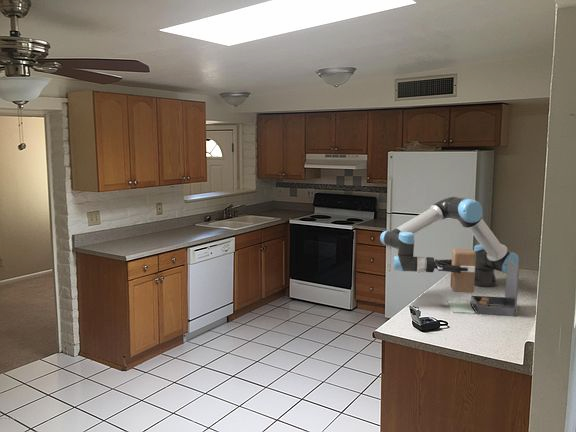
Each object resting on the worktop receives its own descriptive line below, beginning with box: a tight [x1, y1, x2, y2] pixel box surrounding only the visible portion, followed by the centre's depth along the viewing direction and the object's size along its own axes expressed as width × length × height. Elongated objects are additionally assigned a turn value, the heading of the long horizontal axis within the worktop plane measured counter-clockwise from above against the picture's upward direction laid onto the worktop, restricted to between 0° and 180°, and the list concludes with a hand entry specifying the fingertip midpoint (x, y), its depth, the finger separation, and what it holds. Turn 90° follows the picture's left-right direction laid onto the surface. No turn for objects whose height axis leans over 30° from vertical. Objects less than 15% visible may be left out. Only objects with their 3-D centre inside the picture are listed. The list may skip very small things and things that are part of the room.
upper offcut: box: [479, 297, 489, 306], centre depth 247 cm, size 11×3×2 cm, turn 150°
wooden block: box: [450, 247, 476, 294], centre depth 246 cm, size 10×10×20 cm
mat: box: [447, 300, 476, 315], centre depth 249 cm, size 16×10×1 cm, turn 171°
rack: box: [470, 259, 520, 317], centre depth 245 cm, size 17×17×24 cm
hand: (472, 266), depth 245 cm, fingers closed on wooden block, 10 cm apart
